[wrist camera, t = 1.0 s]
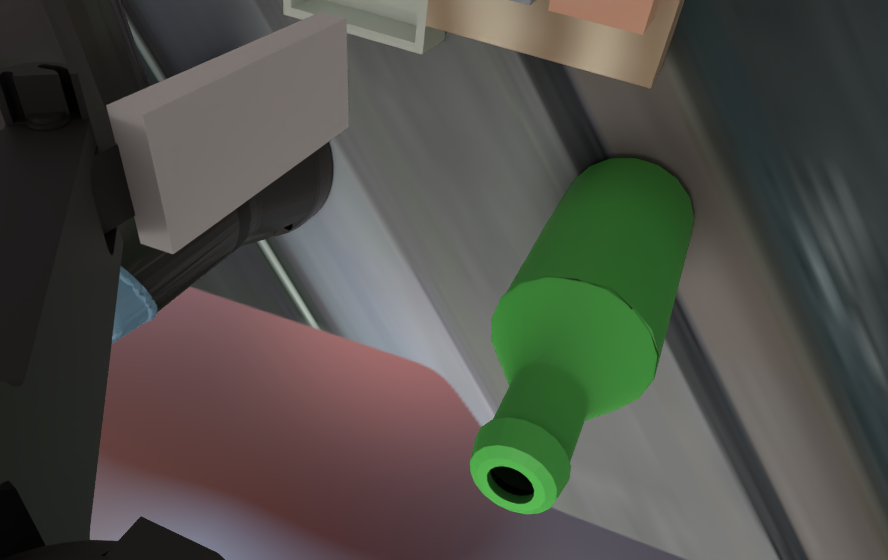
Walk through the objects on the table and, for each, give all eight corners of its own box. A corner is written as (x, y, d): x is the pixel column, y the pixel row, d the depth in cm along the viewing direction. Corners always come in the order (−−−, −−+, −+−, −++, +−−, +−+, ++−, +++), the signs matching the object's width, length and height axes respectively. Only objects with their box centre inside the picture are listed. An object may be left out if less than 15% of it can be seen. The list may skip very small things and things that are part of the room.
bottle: (571, 143, 45) (409, 379, 27) (706, 161, 42) (630, 442, 24) (563, 253, 50) (421, 517, 32) (683, 276, 47) (604, 583, 29)
